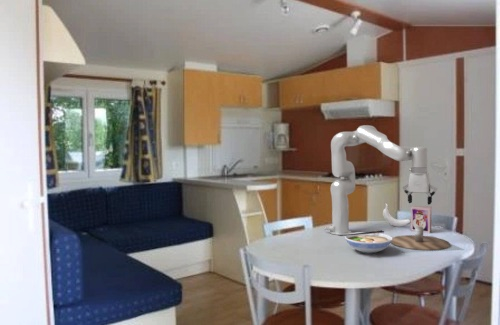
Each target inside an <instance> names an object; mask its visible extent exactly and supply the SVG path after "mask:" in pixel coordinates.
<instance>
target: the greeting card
mask: <svg viewBox="0 0 500 325" xmlns="http://www.w3.org/2000/svg"><path fill="white" fill-rule="evenodd" d="M432 210H433V209H432V206H429V205H428V206H427V205H425V206H422V205H420V206H419V205H418V206H413V205H412V206H410V220H411V223H410V232H415V227H423V234H424V233H425V234H430V233H431V231H432V214H433V213H432V212H433V211H432Z"/></svg>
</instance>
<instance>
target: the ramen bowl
mask: <svg viewBox="0 0 500 325" xmlns="http://www.w3.org/2000/svg"><path fill="white" fill-rule="evenodd" d="M339 237H344V238H345V240H346V242H347V243H348V244H349V246H350V247H351V248H353V249H354V250H356V251H358V252H360V253H363V254H376V253H378V252H380V251H383V250H385V249H386V248H388V247H389V246H390V243H391V241H392V237H393V236H391V235H389V234H385V231H384V230H372V231H365V232H364V231H361V232H359V231H357V232H351V233H350V234H347V235H339Z"/></svg>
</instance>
